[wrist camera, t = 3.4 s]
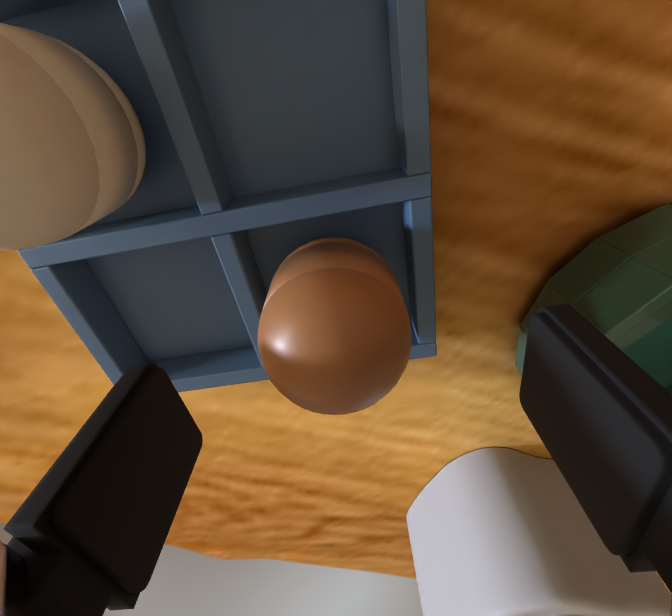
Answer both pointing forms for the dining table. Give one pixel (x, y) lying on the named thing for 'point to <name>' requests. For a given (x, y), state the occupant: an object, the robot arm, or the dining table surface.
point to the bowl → (621, 292)
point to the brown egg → (334, 327)
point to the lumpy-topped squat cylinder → (518, 545)
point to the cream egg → (60, 141)
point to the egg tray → (243, 170)
